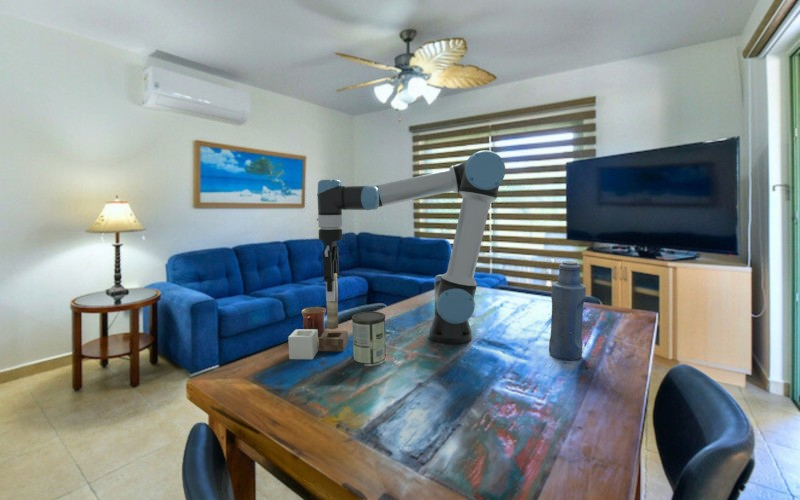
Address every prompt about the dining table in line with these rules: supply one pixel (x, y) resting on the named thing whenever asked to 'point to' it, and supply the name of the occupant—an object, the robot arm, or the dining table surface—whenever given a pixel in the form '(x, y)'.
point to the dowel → (333, 309)
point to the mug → (314, 319)
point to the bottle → (567, 313)
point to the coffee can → (369, 338)
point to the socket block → (333, 341)
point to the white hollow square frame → (303, 344)
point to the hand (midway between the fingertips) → (332, 299)
